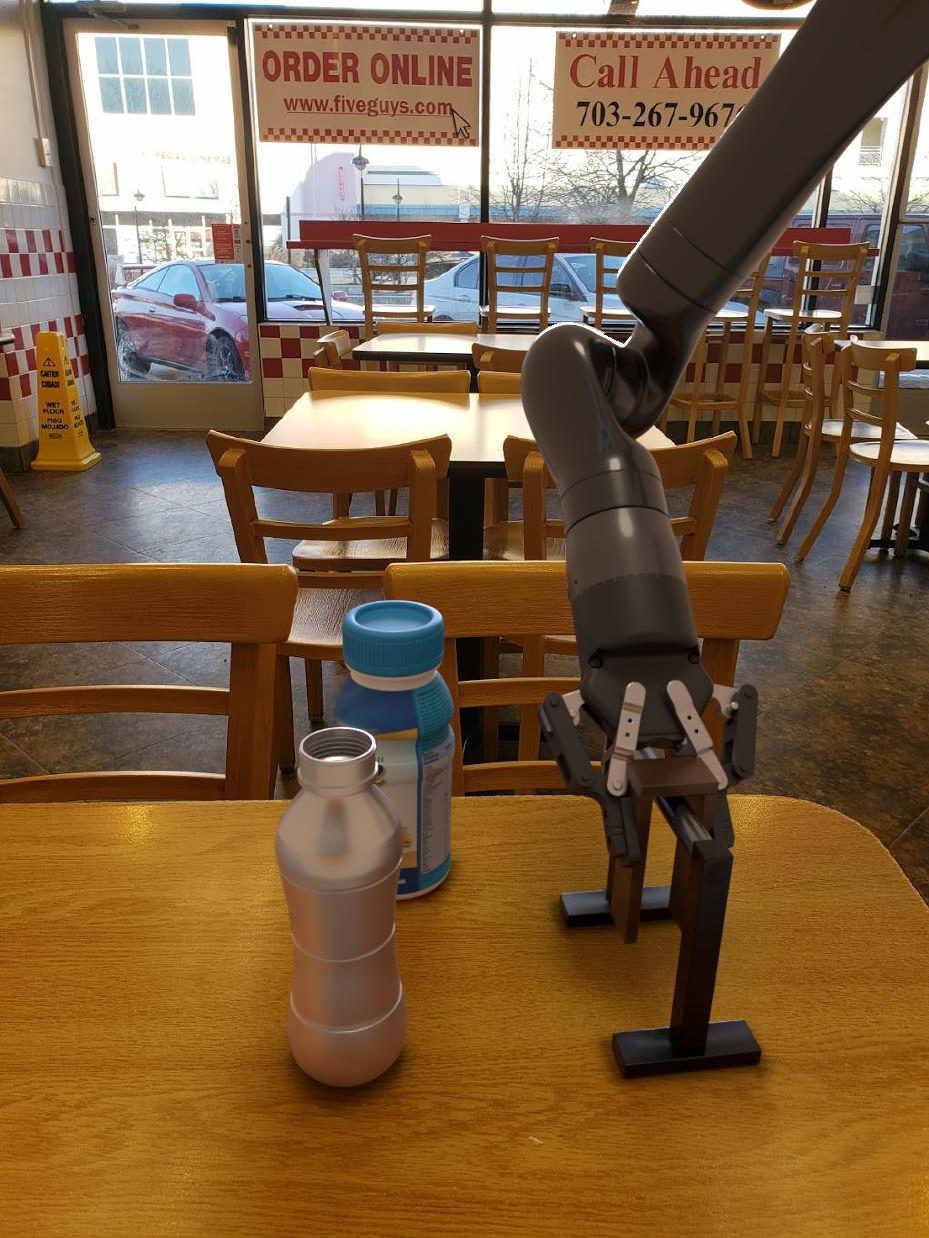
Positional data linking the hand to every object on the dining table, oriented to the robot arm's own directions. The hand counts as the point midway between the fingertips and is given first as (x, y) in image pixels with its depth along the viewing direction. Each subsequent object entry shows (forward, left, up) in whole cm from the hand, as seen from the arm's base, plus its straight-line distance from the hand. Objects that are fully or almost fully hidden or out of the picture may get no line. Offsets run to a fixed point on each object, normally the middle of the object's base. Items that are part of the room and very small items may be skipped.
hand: (674, 861), depth 54 cm
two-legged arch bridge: (0, -2, -6) cm, 6 cm away
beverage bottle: (+15, -15, -10) cm, 23 cm away
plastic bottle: (+19, +2, -10) cm, 22 cm away
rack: (0, -2, -10) cm, 10 cm away
